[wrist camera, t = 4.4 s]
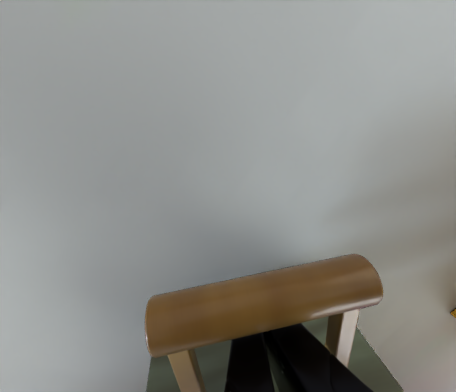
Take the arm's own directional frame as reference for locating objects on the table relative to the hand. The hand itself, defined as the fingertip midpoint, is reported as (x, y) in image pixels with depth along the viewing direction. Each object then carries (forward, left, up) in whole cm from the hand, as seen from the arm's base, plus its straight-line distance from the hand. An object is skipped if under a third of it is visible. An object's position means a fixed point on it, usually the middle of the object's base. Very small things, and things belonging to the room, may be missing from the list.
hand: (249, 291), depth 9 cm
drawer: (-5, +2, -1) cm, 6 cm away
